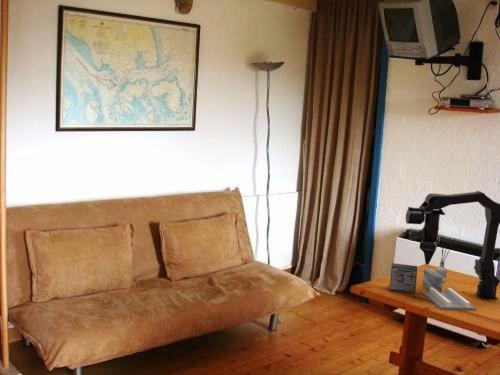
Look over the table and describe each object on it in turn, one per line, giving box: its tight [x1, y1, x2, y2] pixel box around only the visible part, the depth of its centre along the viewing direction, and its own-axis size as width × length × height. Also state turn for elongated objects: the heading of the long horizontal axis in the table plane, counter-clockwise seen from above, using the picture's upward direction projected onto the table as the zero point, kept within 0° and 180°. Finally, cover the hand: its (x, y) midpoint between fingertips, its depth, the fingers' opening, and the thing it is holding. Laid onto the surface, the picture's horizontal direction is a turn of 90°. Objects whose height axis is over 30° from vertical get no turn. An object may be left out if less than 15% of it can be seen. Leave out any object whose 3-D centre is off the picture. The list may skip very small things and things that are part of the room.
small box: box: [388, 262, 418, 294], centre depth 255 cm, size 11×6×10 cm, turn 74°
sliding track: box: [422, 287, 476, 311], centre depth 244 cm, size 14×18×3 cm
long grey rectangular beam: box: [422, 268, 444, 292], centre depth 260 cm, size 4×12×7 cm, turn 6°
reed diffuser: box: [435, 234, 456, 283], centre depth 274 cm, size 10×7×20 cm
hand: (428, 261), depth 252 cm, fingers open, 9 cm apart
